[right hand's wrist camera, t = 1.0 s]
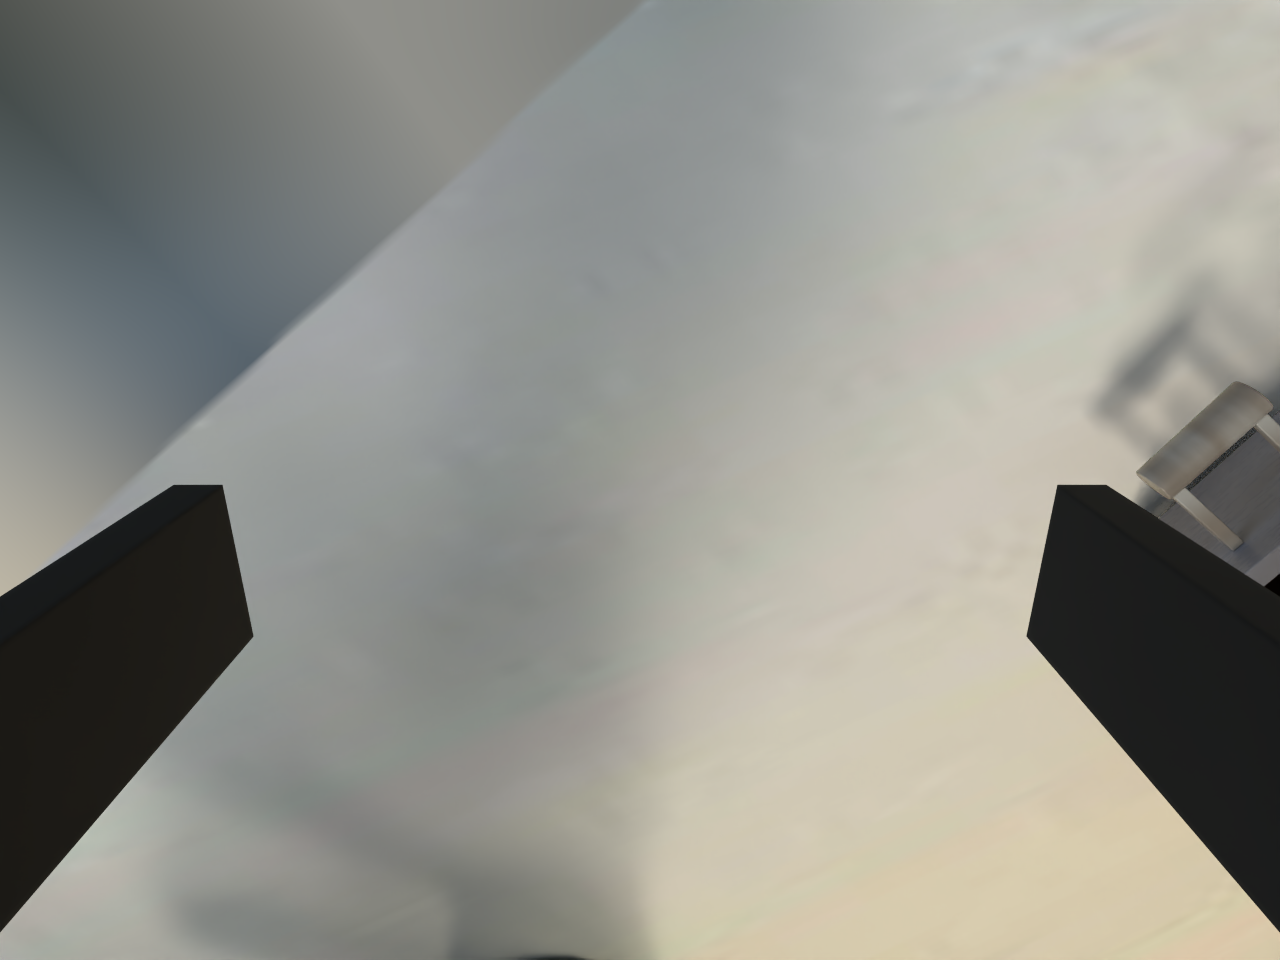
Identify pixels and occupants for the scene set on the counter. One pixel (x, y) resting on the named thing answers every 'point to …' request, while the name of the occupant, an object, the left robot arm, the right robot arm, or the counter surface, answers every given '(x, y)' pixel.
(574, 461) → the counter surface
